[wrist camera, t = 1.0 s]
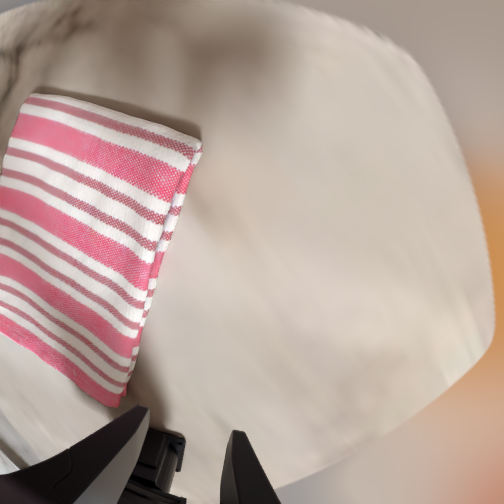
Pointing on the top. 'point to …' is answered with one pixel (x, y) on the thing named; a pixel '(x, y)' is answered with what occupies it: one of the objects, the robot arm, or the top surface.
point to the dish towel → (86, 234)
